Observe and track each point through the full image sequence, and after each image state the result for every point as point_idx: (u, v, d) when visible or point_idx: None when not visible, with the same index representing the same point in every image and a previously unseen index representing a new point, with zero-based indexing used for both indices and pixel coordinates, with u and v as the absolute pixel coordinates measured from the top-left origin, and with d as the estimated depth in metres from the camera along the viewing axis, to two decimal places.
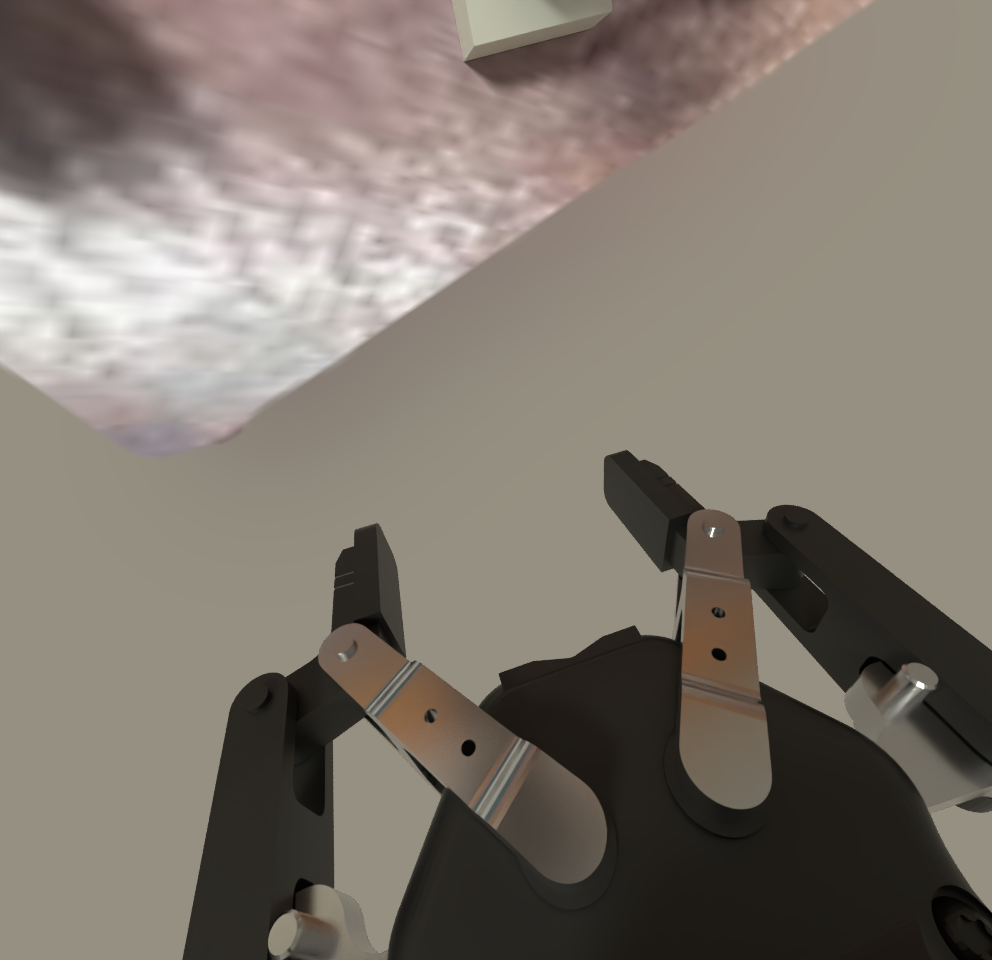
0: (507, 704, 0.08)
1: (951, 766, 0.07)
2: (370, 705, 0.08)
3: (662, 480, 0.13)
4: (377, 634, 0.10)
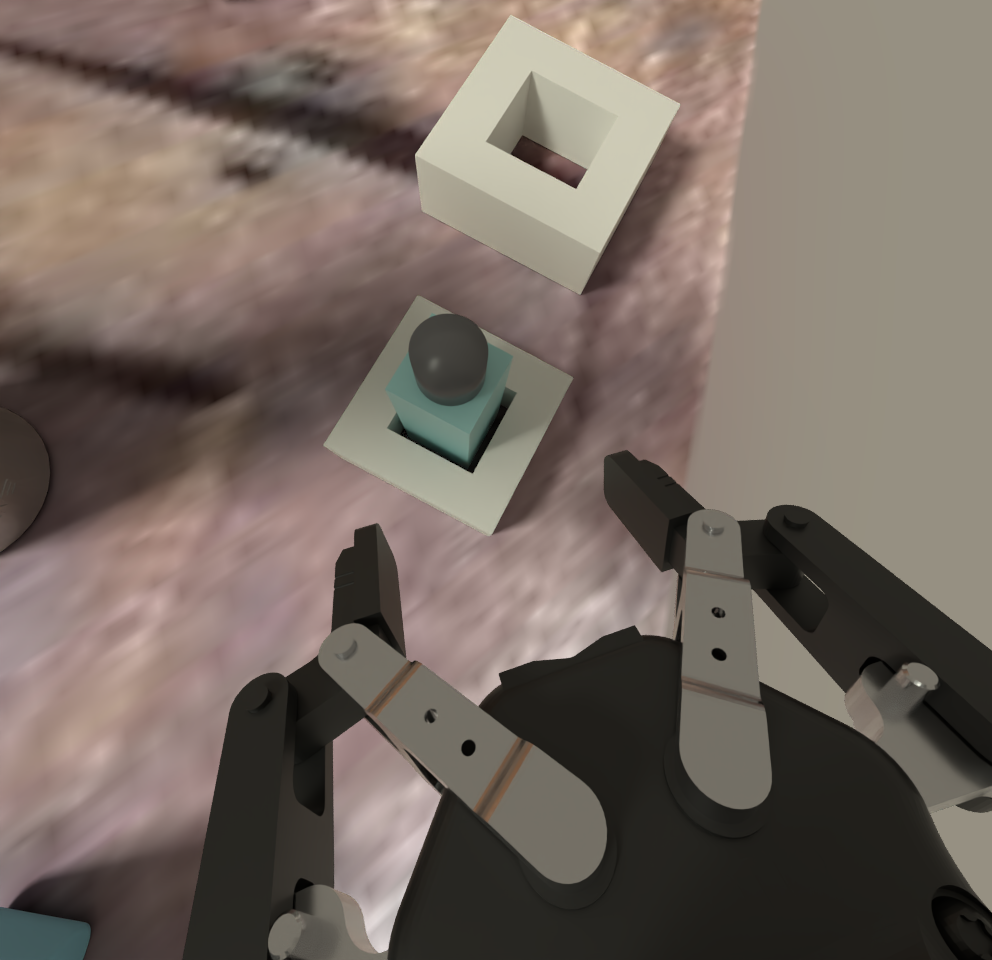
0: (507, 704, 0.08)
1: (950, 765, 0.07)
2: (370, 705, 0.08)
3: (662, 480, 0.13)
4: (377, 634, 0.10)
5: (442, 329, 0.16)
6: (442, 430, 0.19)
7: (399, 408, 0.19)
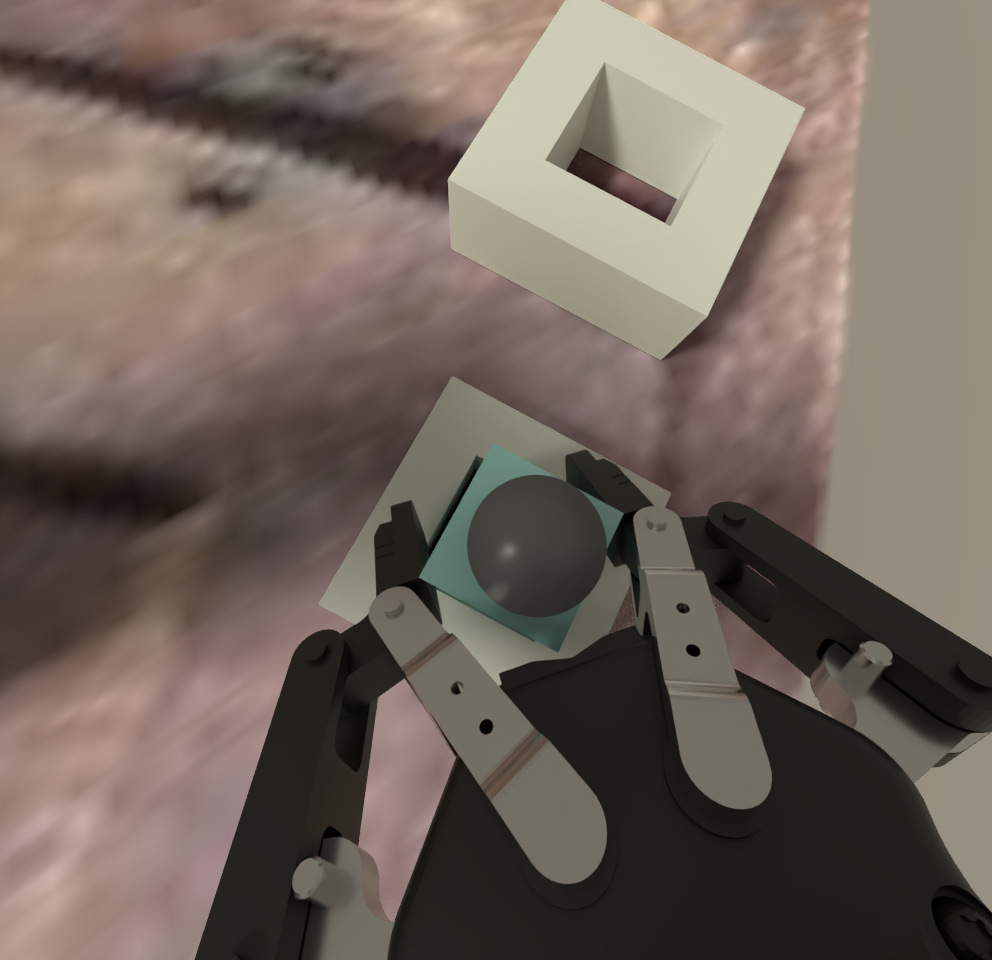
0: None
1: (919, 735, 0.07)
2: (406, 665, 0.09)
3: (617, 478, 0.13)
4: (420, 597, 0.11)
5: (526, 504, 0.09)
6: None
7: None
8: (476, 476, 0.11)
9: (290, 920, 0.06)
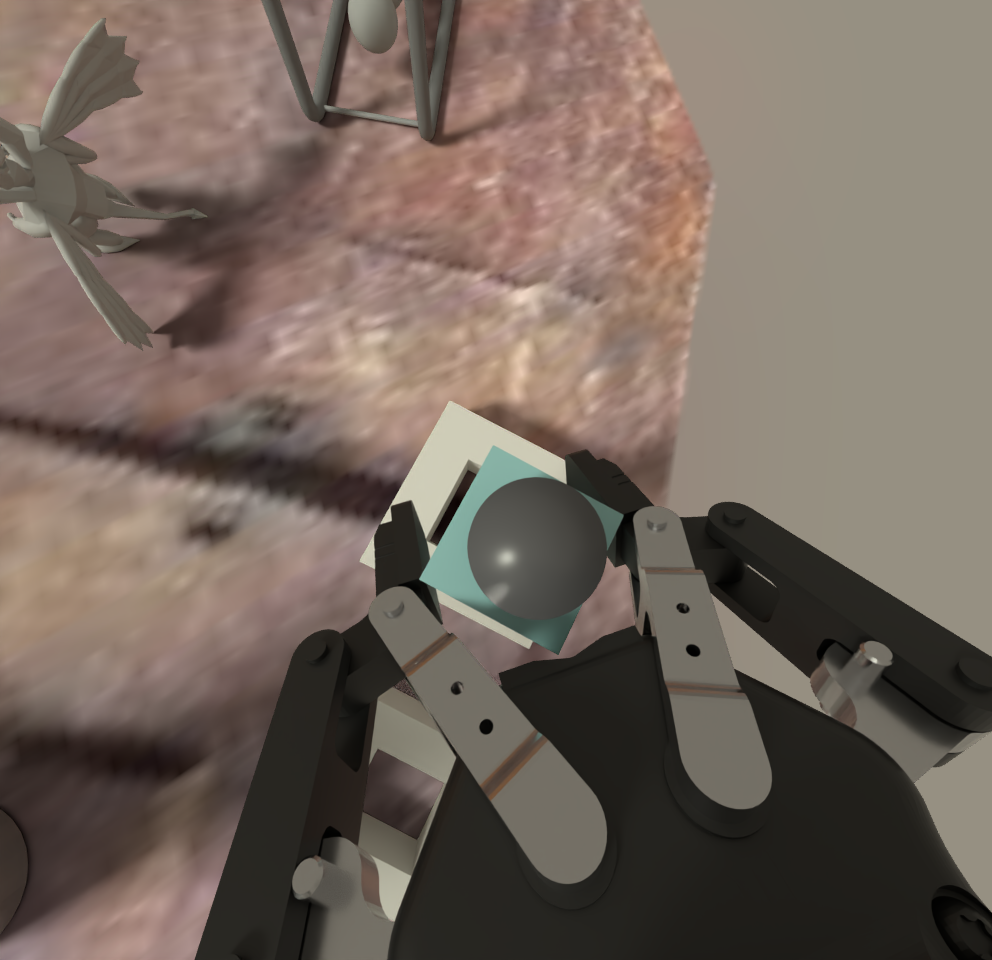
0: None
1: (919, 735, 0.07)
2: (406, 665, 0.09)
3: (617, 478, 0.13)
4: (420, 597, 0.11)
5: (526, 507, 0.09)
6: None
7: None
8: (476, 478, 0.11)
9: (290, 920, 0.06)
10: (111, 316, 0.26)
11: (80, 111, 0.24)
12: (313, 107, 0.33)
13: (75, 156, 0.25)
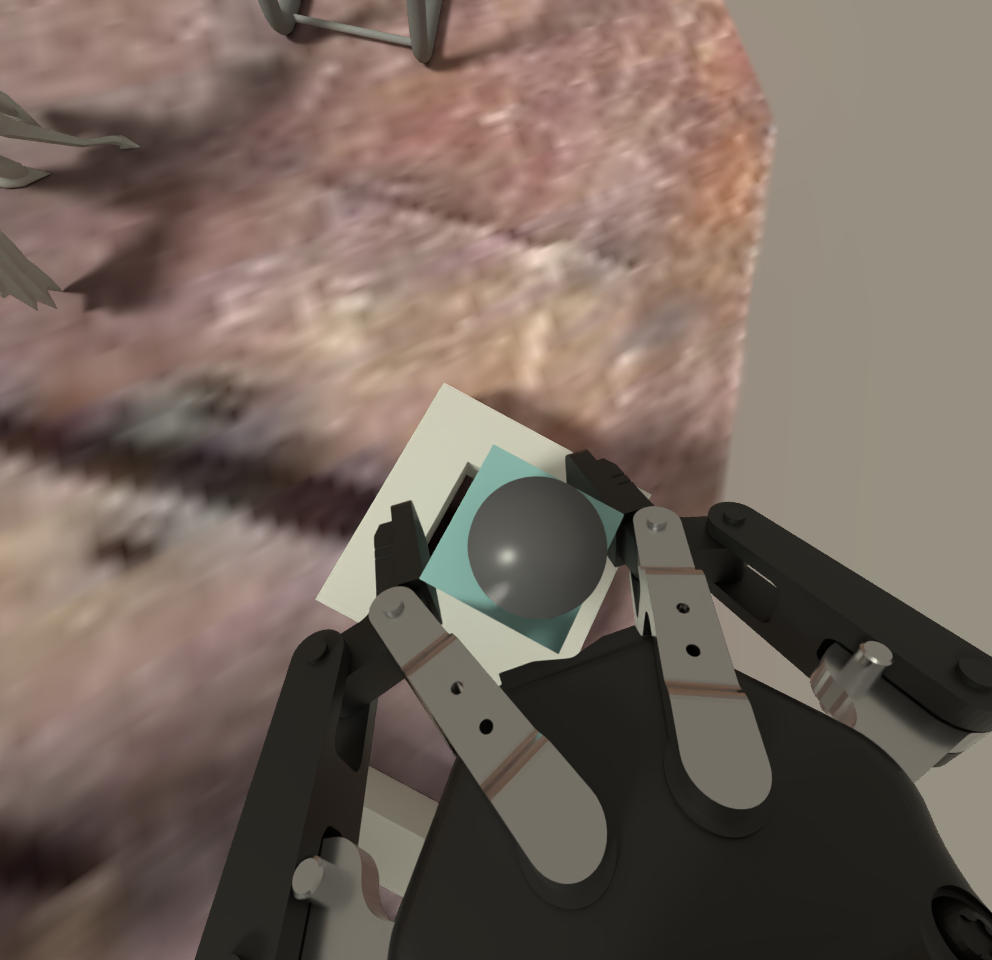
0: None
1: (919, 735, 0.07)
2: (406, 665, 0.09)
3: (617, 478, 0.13)
4: (420, 597, 0.11)
5: (526, 506, 0.09)
6: None
7: None
8: (476, 477, 0.11)
9: (290, 920, 0.06)
10: None
11: None
12: (276, 10, 0.26)
13: None
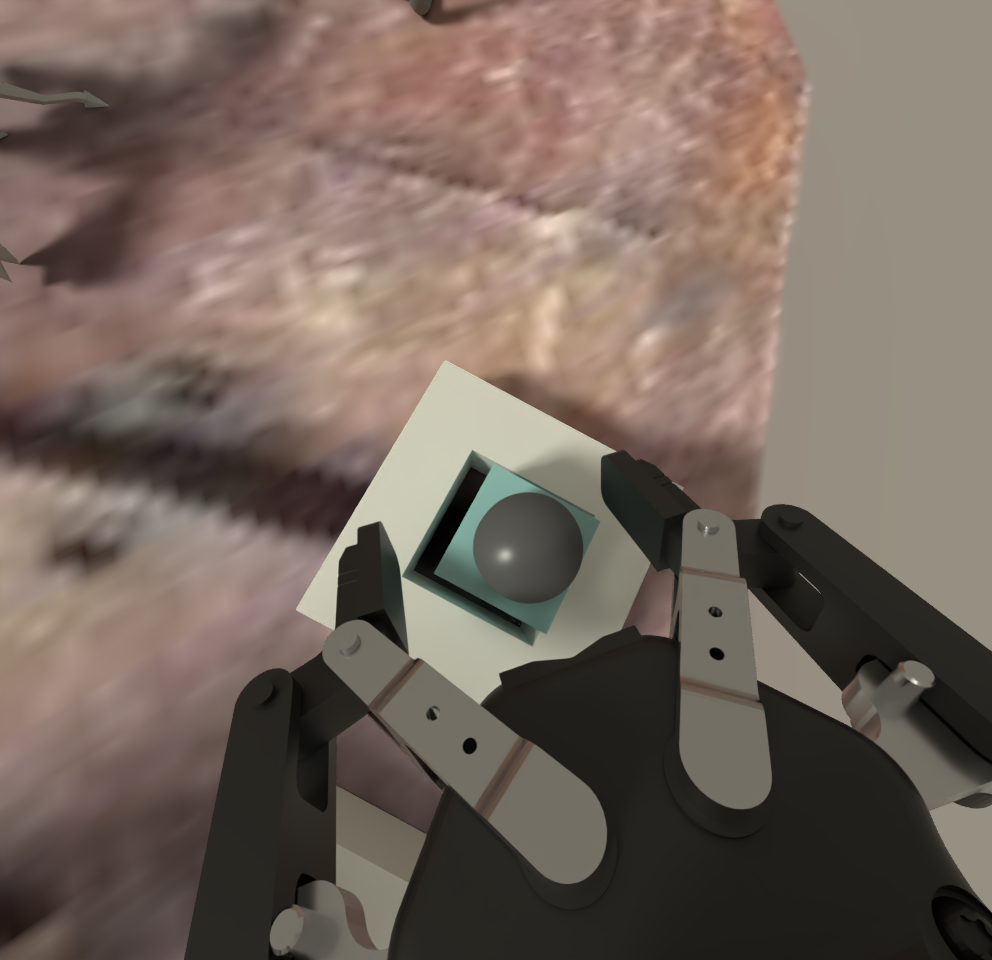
0: (507, 704, 0.08)
1: (948, 763, 0.07)
2: (373, 701, 0.08)
3: (658, 480, 0.13)
4: (380, 630, 0.10)
5: (520, 515, 0.11)
6: None
7: None
8: (480, 491, 0.13)
9: None
10: None
11: None
12: None
13: None
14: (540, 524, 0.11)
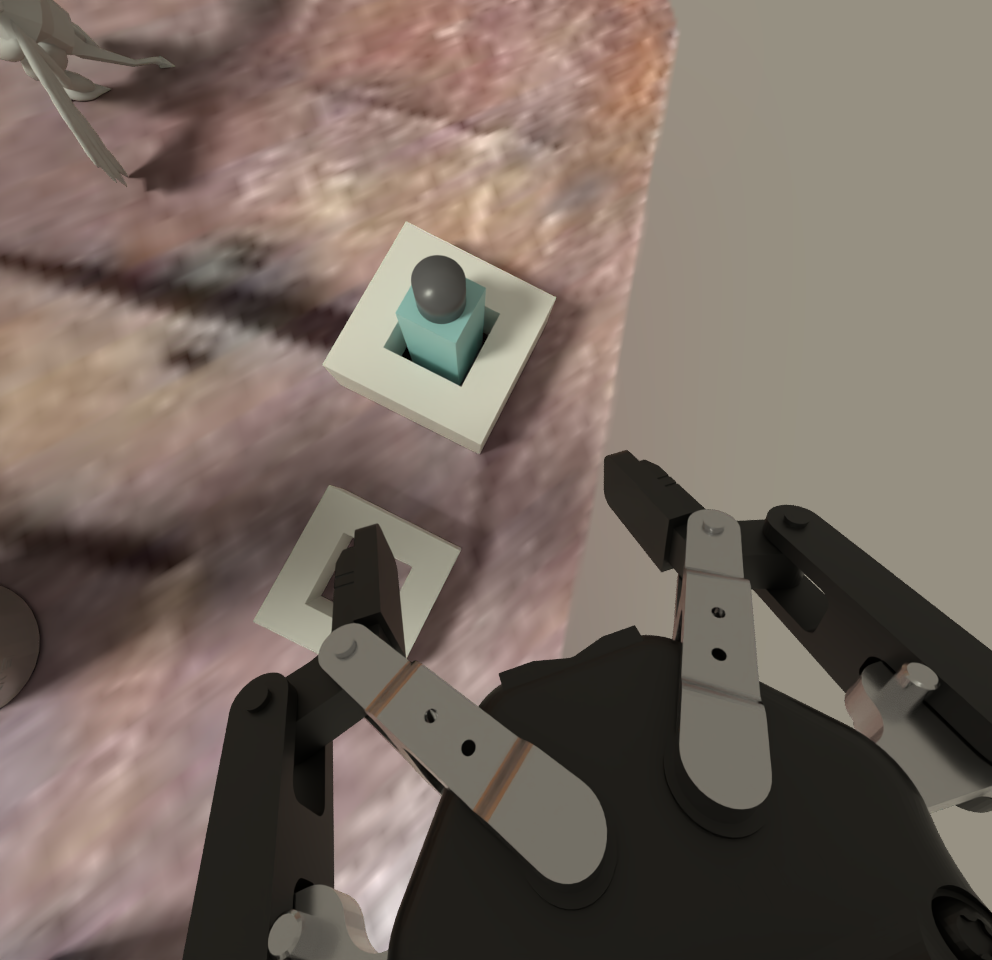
0: (507, 704, 0.08)
1: (950, 766, 0.07)
2: (370, 705, 0.08)
3: (662, 480, 0.13)
4: (377, 634, 0.10)
5: (433, 266, 0.23)
6: (437, 346, 0.26)
7: (405, 330, 0.26)
8: None
9: None
10: (83, 138, 0.28)
11: None
12: None
13: None
14: (444, 270, 0.23)
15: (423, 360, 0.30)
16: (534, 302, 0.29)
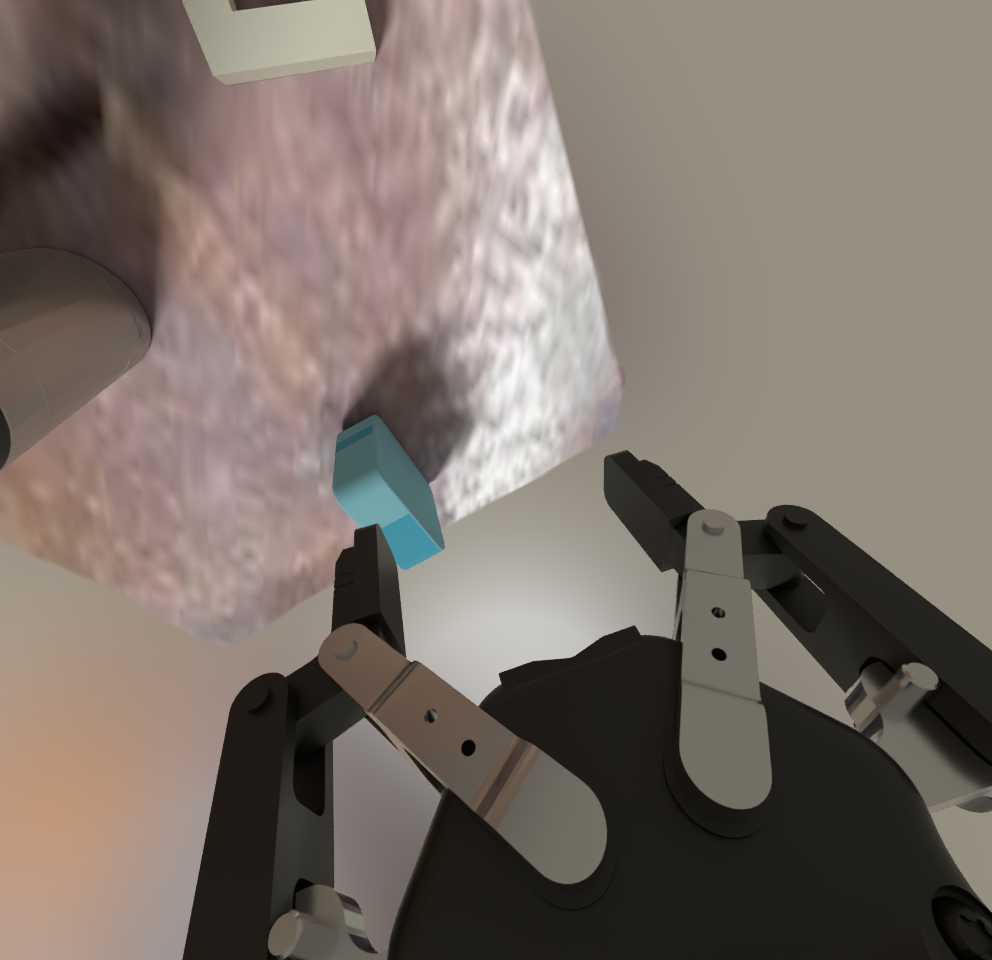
0: (507, 704, 0.08)
1: (951, 765, 0.07)
2: (370, 705, 0.08)
3: (662, 480, 0.13)
4: (377, 634, 0.10)
5: None
6: None
7: None
8: None
9: None
10: None
11: None
12: None
13: None
14: None
15: None
16: None
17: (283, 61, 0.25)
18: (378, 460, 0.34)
